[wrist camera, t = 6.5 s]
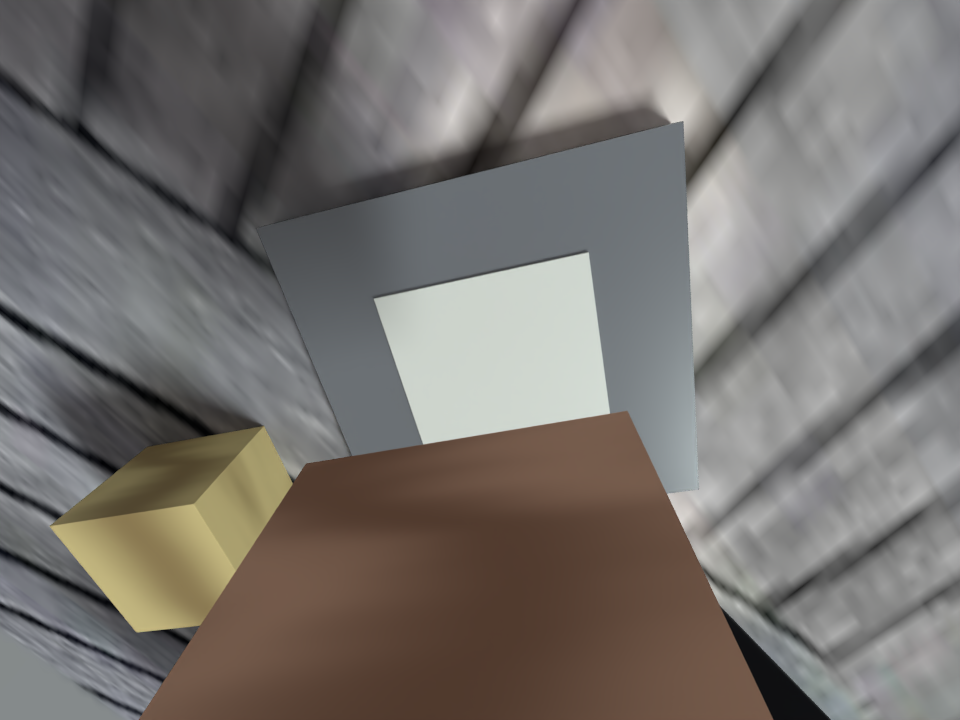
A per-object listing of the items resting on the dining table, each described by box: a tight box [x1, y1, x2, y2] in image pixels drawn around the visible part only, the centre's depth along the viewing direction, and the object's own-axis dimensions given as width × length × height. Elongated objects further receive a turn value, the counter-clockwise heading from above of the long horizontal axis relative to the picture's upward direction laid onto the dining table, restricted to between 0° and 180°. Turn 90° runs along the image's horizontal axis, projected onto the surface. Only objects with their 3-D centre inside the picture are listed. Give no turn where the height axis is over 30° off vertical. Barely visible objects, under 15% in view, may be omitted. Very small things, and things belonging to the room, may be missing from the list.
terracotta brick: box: [139, 411, 773, 720], centre depth 7 cm, size 6×6×5 cm
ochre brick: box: [50, 426, 293, 632], centre depth 19 cm, size 6×6×5 cm
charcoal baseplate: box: [256, 121, 699, 494], centre depth 17 cm, size 14×14×1 cm
